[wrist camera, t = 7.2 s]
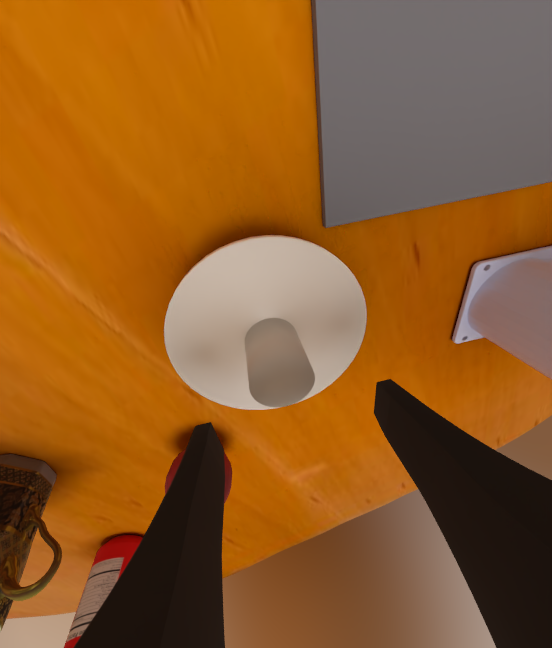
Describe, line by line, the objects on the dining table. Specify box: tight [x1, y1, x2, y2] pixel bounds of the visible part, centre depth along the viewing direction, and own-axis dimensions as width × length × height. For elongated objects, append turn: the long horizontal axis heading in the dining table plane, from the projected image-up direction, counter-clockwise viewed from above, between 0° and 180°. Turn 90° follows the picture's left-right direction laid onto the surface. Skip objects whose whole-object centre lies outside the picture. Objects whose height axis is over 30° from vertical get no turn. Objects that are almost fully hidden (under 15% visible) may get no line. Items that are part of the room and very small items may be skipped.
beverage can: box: [64, 535, 143, 648], centre depth 29 cm, size 6×6×12 cm
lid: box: [164, 235, 367, 410], centre depth 14 cm, size 12×12×4 cm
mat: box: [311, 0, 552, 228], centre depth 12 cm, size 16×16×1 cm
